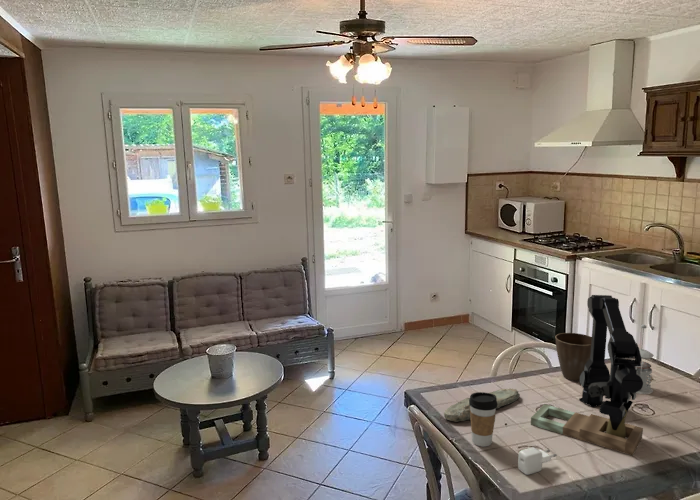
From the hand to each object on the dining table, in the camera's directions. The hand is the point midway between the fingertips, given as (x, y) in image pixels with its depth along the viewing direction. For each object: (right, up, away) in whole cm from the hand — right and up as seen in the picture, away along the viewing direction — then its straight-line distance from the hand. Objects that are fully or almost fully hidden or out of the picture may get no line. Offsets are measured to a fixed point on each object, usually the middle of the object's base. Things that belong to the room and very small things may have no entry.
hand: (616, 426), depth 168 cm
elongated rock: (-35, -1, +23) cm, 42 cm away
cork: (0, -5, +1) cm, 5 cm away
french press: (+26, +2, +37) cm, 45 cm away
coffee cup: (-41, -5, +1) cm, 42 cm away
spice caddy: (-7, -4, +6) cm, 10 cm away
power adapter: (-29, -8, -14) cm, 33 cm away
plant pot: (+7, +4, +48) cm, 49 cm away
